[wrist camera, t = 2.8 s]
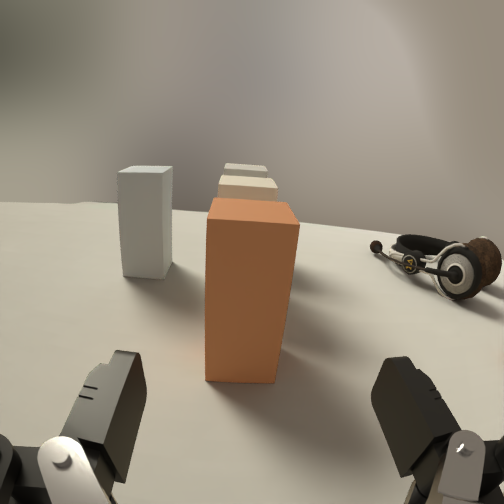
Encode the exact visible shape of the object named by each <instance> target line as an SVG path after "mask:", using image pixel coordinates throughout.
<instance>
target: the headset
mask: <svg viewBox="0 0 504 504" xmlns="http://www.w3.org/2000/svg"><path fill="white" fill-rule="evenodd" d="M370 249H371V251H372V252H373V253H375V254H378V253H380V254H382V255H383V256H384V257H386V258H388V259H389V260H391V261H393V262H395V263H396V264H398V265H400V266H402V267H403V270H404V271H405V272H406V273H407V274H416V273H419V272H423V273H426V274H429V275H430V276H431V278H432V281H433V283H434V285H435V287H436V289H437V291H438V292H439V293H440V294H441V295H442V296H443V297H445V298H448V299H450V300H455V299H468V298H472V297H474V296H475V295H476V294H477V293H479V292H480V290H481V289H482V287H484V286H487V285H490V284H491V283H493V282H494V281H495V280H496V279H497V277H498V275H499V274H500V271H501V266H502V259H501V254H500V251H499V249H498V248H497V246H496V245H495V244H494V243H493V242H492V241H490V240H489V239H488V238H487V237H485V236H481V237H479V238H476V239H474V240H471V241H470V242H469V243H468V244H467V243H459V242H457V241H452V242H448V241H444V240H440V239H436V238H431V237H427V236H421V235H411V234H409V235H401V236H399V237H398V238H397V243H395V244H393V245H391V246H390V251H389V256H387V255H386V254H384V253H383V252H382V244H381V242H379V241H373V242H372V243H371V244H370ZM395 250H396V251H395ZM424 255H436V257H435V258H434V259H433V260H427V259H426V258H425V256H424ZM440 256H441V258H440V260H439V262H438V267H437V269H433V268H428V267H426V268H425V266H426V262H428V263H433V262H435V261H436V260H437V259H438V258H439V257H440ZM393 258H394V259H393ZM433 274H434V275H437V278H438V282H439V284H440V287H441V288H442V289H443V291H444V292H445V293H446V294H447V295H449V296H450V297H448V296H446V295H445V294H444V293H443V292H442V291H441V290H440V289H439V287H438V285H437V283H436V281H435V278H434V276H433Z"/></svg>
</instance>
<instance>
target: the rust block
mask: <svg viewBox="0 0 504 504" xmlns="http://www.w3.org/2000/svg"><path fill="white" fill-rule="evenodd" d="M299 228H300V224H299V222H298V221H297V219H296V217H295V216H294V214H293V212H292V210H291V209H290V207H289V206H288V204H287V203H285V202H274V201H260V200H246V199H230V198H214V199H213V202H212V205H211V208H210V211H209V214H208V217H207V233H206V270H205V381H217V382H237V383H274V382H275V377H276V372H277V366H278V361H279V355H280V350H281V344H282V338H283V332H284V327H285V321H286V315H287V309H288V302H289V296H290V290H291V283H292V277H293V270H294V264H295V257H296V250H297V243H298V236H299Z"/></svg>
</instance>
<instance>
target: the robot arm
mask: <svg viewBox="0 0 504 504" xmlns="http://www.w3.org/2000/svg"><path fill="white" fill-rule="evenodd" d="M146 397H147V387H146V382H145V377H144V372H143V366H142V361H141V356H140V354H139V353H137V352H129V351H121V350H116V351H115V352H114V354H113V356H112V358H111V360H110V362H109V364H102V363H100V364H99V365H98V366H97V367H95V368H94V369H93V370H92V371H91V372H90V373H89V374H88V376H87V378H86V380H85V383H84V385H83V387H82V389H81V391H80V393H79V397H77V399H76V401H75V403H74V405H73V407H72V410H71V412H70V414H69V416H68V418H67V421H66V423H65V425H64V427H63V429H62V432H61V433H60V435H59V436H58V437H54V438H51V439H49V440H47V441H46V442H45V443H43V445H42V446H41V447H23V446H13V445H12V444H11V443H10V441H9V440H8V439H7V438H6V437H5V436H3V435H1V434H0V504H118V503H117V501H116V500H115V498H114V496H113V494H112V488H113V484H114V481H115V482H120V483H124V484H125V482H126V478H127V473H128V469H129V465H130V461H131V457H132V453H133V449H134V445H135V441H136V437H137V433H138V429H139V426H140V422H141V418H142V414H143V411H144V407H145V403H146ZM441 397H442V396H441V395H440V393H439V392H438V390H436V387H435V385H434V384H433V382H432V380H431V379H430V377H428V376H427V375H426V374H425V373H423V372H422V371H421V370H420V369H416V368H415V366H414V365H413V363H412V361H411V360H410V359H409V358H408V357H407V356H403V357H393V358H387V359H385V361H384V362H383V365H382V367H381V370H380V372H379V374H378V377H377V379H376V381H375V384H374V386H373V389H372V392H371V402H372V406H373V408H374V411H375V413H376V416H377V418H378V421H379V423H380V425H381V428H382V430H383V433H384V435H385V438H386V440H387V443H388V446H389V448H390V451H391V453H392V456H393V458H394V461H395V464H396V466H397V469H398V472H399V474H400V477H401V478H402V477H405V476H409V475H412V474H413V476H414V478H415V480H414V481H413V482H412V484H411V486H410V489H409V491H408V494H407V496H406V499H405V502H404V504H504V496H503V494H502V491H501V489H500V487H499V485H500V484H501V483H502V482H503V481H504V436H503V437H502V438H501V439H500V440H493V441H483V440H482V439H481V438H480V437H479V436H478V435H477V434H476V433H474V432H472V431H468V430H461V428H460V427H459V425H458V423H457V421H456V420H455V418H454V416H453V415H452V413H451V411H450V410H449V408H448V406H447V405H446V403H445V401H444V400H443V399H442V398H441Z"/></svg>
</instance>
